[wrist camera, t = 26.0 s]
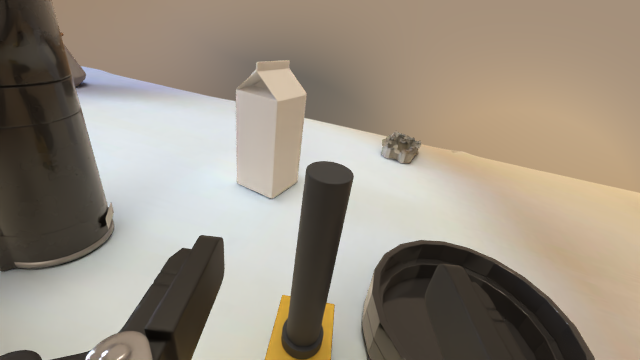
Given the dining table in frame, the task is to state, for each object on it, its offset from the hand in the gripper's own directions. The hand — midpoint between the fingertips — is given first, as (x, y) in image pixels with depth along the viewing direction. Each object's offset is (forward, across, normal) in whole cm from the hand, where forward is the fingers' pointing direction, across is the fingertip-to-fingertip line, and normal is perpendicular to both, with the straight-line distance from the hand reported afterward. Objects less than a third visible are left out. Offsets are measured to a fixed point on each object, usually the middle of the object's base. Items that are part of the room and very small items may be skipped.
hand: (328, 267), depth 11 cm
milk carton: (+33, +8, +17) cm, 38 cm away
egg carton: (+54, -19, +17) cm, 60 cm away
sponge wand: (+5, 0, +16) cm, 17 cm away
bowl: (+8, -14, +16) cm, 23 cm away
